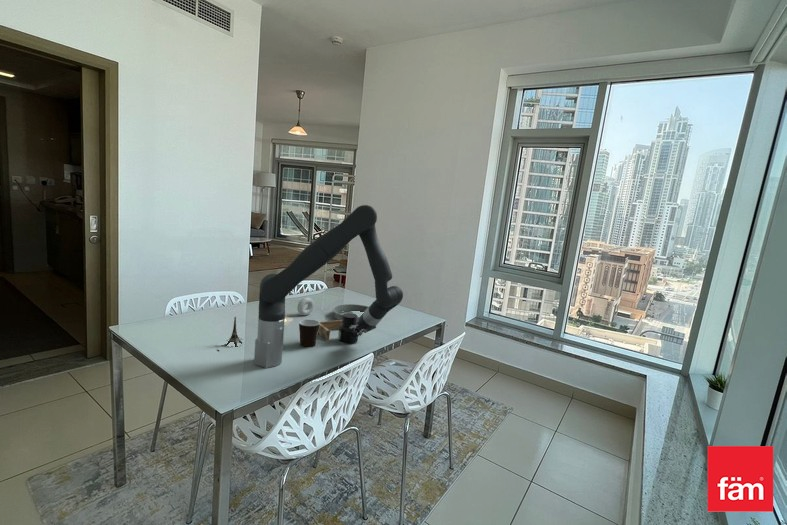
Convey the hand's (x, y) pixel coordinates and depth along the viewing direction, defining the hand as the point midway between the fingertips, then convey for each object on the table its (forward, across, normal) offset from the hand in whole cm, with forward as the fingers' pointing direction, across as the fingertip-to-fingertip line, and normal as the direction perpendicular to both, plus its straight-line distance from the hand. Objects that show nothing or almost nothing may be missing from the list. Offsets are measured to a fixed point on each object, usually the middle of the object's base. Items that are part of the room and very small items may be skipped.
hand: (354, 335), depth 166 cm
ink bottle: (+7, +1, 0) cm, 7 cm away
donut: (+35, +6, -29) cm, 46 cm away
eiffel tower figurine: (+15, +47, -8) cm, 50 cm away
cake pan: (+28, -19, -22) cm, 40 cm away
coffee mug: (+8, +18, -2) cm, 20 cm away
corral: (+13, 0, -7) cm, 15 cm away
